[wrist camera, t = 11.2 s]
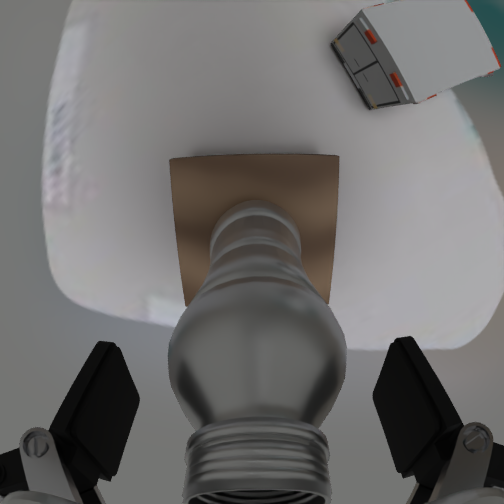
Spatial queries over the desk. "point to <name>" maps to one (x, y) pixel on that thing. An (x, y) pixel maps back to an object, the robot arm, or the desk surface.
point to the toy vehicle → (414, 50)
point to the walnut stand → (255, 188)
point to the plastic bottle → (257, 367)
